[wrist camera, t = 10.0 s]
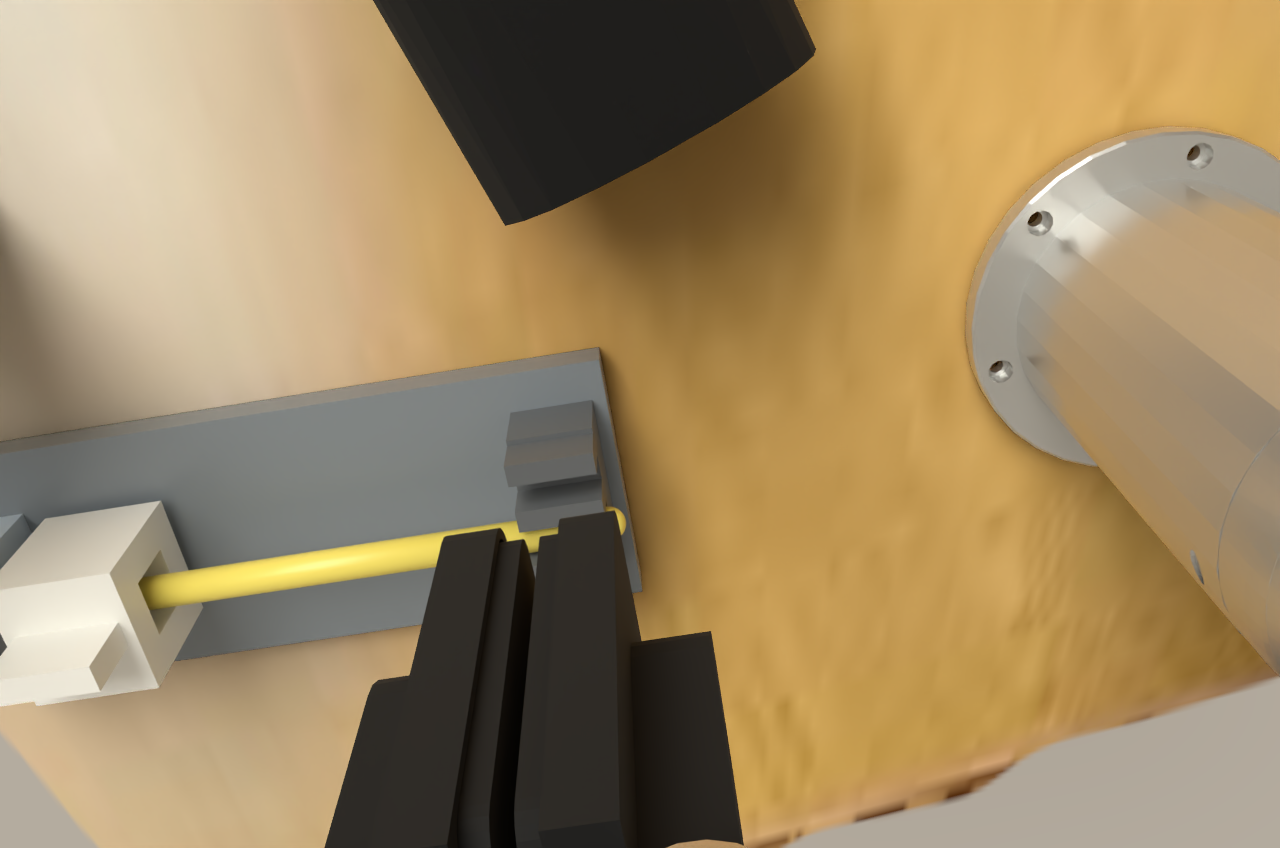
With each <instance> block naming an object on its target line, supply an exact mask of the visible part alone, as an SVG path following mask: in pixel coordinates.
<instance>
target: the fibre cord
mask: <svg viewBox="0 0 1280 848" xmlns="http://www.w3.org/2000/svg"><path fill="white" fill-rule="evenodd" d="M613 510H615V512H616V515H617V518H618V523H619V527H620V532H621V535H622V534H623V533H624V531H625V528H626V519H625V516H624V514H623V513H622V512H621V511H620V510H619V509H617V508H615V507H606V512H607V511H613ZM495 528H501V529H502V530H503V532H504V534H505V536H506V539H507V541H514V540H520V539H524V540H525V541H526V544H527V546H528V550H529V553H533V552H538V547H539V539H540V537H541V536H547V535H553V534H558V527H555V528H548V529H542V530H535V531H528V532H522V533H519V529H518V525H517V521H509V522H502V523H496V524H489V525H483V526H476V527H470V528H463V529H457V530H450V531H443V532H437V533H430V534H424V535H417V536H411V537H404V538H397V539H391V540H384V541H378V542H371V543H365V544H358V545H351V546H345V547H338V548H332V549H325V550H319V551H312V552H306V553H299V554H292V555H286V556H279V557H273V558H266V559H260V560H253V561H246V562H240V563H233V564H227V565H220V566H214V567H207V568H200V569H194V570H187V571H181V572H174V573H168V574H161V575H155V576H148V577H142V578H141V580H140V581H139V583H138V585H139V587H140V590H141V592H142V595H143V597H144V599H145V602H146V604H147V606H148V609H149V610H155V609H162V608H168V607H175V606H182V605H188V604H195V603H202V602H208V601H215V600H221V599H228V598H235V597H241V596H248V595H255V594H261V593H268V592H274V591H281V590H288V589H294V588H301V587H307V586H314V585H321V584H327V583H334V582H341V581H347V580H354V579H360V578H367V577H374V576H380V575H387V574H394V573H400V572H407V571H413V570H420V569H427V568H433V567H436V564H437V560H438V556H439V552H440V548H441V544H442V541H443V538H444V537H445V536H449V535H456V534H462V533H469V532H475V531H482V530H489V529H495Z"/></svg>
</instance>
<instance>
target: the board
mask: <svg viewBox="0 0 1280 848" xmlns="http://www.w3.org/2000/svg"><path fill="white" fill-rule="evenodd" d="M155 501H161V502H162V505H163V507H164V510H165V512H166V515H167V517H168V520H169V522H170V525H171V527H172V530H173V532H174V535H175V538H176V540H177V543H178V545H179V548H180V550H181V553H182V555H183V558H184V560H185V563H186V565H187V568H188V570H194V569H200V568H207V567H214V566H220V565H227V564H233V563H240V562H246V561H253V560H260V559H266V558H273V557H279V556H286V555H292V554H299V553H306V552H312V551H319V550H325V549H332V548H338V547H345V546H351V545H358V544H365V543H371V542H378V541H384V540H391V539H397V538H404V537H411V536H417V535H424V534H430V533H437V532H443V531H450V530H457V529H463V528H470V527H476V526H483V525H489V524H496V523H502V522H509V521H517V525H518V529H519V533H522V532H528V531H535V530H542V529H548V528H555V527H558V524H559V519H561V518H567V517H574V516H581V515H587V514H594V513H600V512H606V507H615V508H617V509H619V510H620V511H621V512H622V513H623V514H624V516H625V519H626V528H625V531H624V533H623V534H622V535H621V537H622V543H623V548H624V553H625V558H626V563H627V569H628V574H629V579H630V584H631V589H632V593H636V592H642V577H641V570H640V565H639V559H638V554H637V548H636V543H635V538H634V532H633V527H632V522H631V516H630V511H629V506H628V500H627V495H626V489H625V484H624V479H623V473H622V468H621V463H620V457H619V452H618V447H617V441H616V436H615V430H614V425H613V420H612V414H611V409H610V404H609V398H608V393H607V388H606V382H605V377H604V372H603V366H602V361H601V355H600V350H599V347H597V348H591V349H584V350H578V351H572V352H565V353H559V354H553V355H546V356H540V357H534V358H527V359H521V360H515V361H508V362H502V363H496V364H490V365H483V366H477V367H471V368H464V369H458V370H452V371H445V372H439V373H433V374H426V375H420V376H414V377H407V378H401V379H395V380H388V381H382V382H376V383H369V384H363V385H357V386H350V387H344V388H338V389H331V390H325V391H319V392H312V393H306V394H300V395H293V396H287V397H281V398H274V399H268V400H262V401H255V402H249V403H243V404H237V405H230V406H224V407H218V408H211V409H205V410H199V411H192V412H186V413H180V414H173V415H167V416H161V417H154V418H148V419H142V420H135V421H129V422H123V423H116V424H110V425H104V426H97V427H91V428H85V429H78V430H72V431H66V432H59V433H53V434H47V435H40V436H34V437H28V438H21V439H15V440H9V441H2V442H0V517H5V516H11V515H18V514H23V515H24V518H25V520H26V522H27V524H28V526H29V528H30V531H31V533H33V532H34V531H35V530H36V528H37V527H38V526H39V525H40V524H41V523H42V521H43V520H44V519H46V518H52V517H59V516H65V515H72V514H78V513H84V512H91V511H97V510H104V509H110V508H117V507H123V506H130V505H136V504H143V503H149V502H155ZM529 554H530V558H531V562H532V566H533V571H534V575H535V579H536V568H537V557H538V552H533V553H529ZM435 568H436V567H433V568H427V569H420V570H413V571H407V572H400V573H394V574H387V575H380V576H374V577H367V578H360V579H354V580H347V581H341V582H334V583H327V584H321V585H314V586H307V587H301V588H294V589H288V590H281V591H274V592H268V593H261V594H255V595H248V596H241V597H235V598H228V599H221V600H215V601H208V602H202V606H203V609H202V611H201V612H200V614H199V616H198V618H197V620H196V622H195V623H194V625H193V627H192V629H191V631H190V633H189V634H188V636H187V638H186V640H185V642H184V644H183V645H182V647H181V649H180V651H179V653H178V655H177V656H176V658H175V660H174V661H180V660H187V659H193V658H200V657H207V656H213V655H220V654H227V653H234V652H240V651H247V650H254V649H260V648H267V647H274V646H280V645H287V644H294V643H301V642H307V641H314V640H321V639H327V638H334V637H341V636H348V635H354V634H361V633H368V632H374V631H381V630H388V629H395V628H401V627H408V626H415V625H421V624H422V622H423V618H424V614H425V610H426V606H427V602H428V598H429V593H430V589H431V585H432V581H433V577H434V573H435Z"/></svg>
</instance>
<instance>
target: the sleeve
mask: <svg viewBox="0 0 1280 848" xmlns="http://www.w3.org/2000/svg"><path fill="white" fill-rule="evenodd" d="M187 570H188V568H187V565H186V563H185V560H184V558H183V555H182V553H181V550H180V548H179V545H178V543H177V540H176V538H175V535H174V532H173V530H172V527H171V525H170V522H169V520H168V517H167V515H166V512H165V510H164V507H163V505H162V502H161V501H155V502H149V503H143V504H136V505H130V506H123V507H117V508H110V509H104V510H97V511H91V512H84V513H78V514H72V515H65V516H59V517H52V518H46V519H44V520H43V521H42V523H41V524H40V525H39V526H38V527H37V528H36V530H35V531H34V532H33V533H32V534H31V535H30V536H29V538H28V539H27V540H26V541H25V542H24V543H23V544H22V546H21V547H20V548H19V549H18V550H17V551H16V552H15V554H14V555H13V556H12V557H11V558H10V559H9V560H8V562H7V563H6V564H5V565H4V566H3V567H2V569H1V570H0V634H1V636H2V638H3V640H4V642H5V644H6V646H7V648H6V649H5V651H4V652H3V653H2V655H1V656H0V706H7V705H14V704H20V703H27V702H35V704H36V706H41V705H48V704H54V703H61V702H68V701H75V700H81V699H88V698H95V697H102V696H108V695H115V694H122V693H129V692H135V691H142V690H149V689H156V688H159V687H160V686H161V684H162V682H163V680H164V678H165V676H166V675H167V673H168V671H169V669H170V667H171V665H172V664H173V662H174V660H175V658H176V656H177V655H178V653H179V651H180V649H181V647H182V645H183V644H184V642H185V640H186V638H187V636H188V634H189V633H190V631H191V629H192V627H193V625H194V623H195V622H196V620H197V618H198V616H199V614H200V612H201V611H202V609H203V606H202V603H195V604H188V605H182V606H175V607H168V608H162V609H155V610H149V609H148V606H147V604H146V602H145V599H144V597H143V595H142V592H141V590H140V587H139V585H138V583H139V581H140V580H141V578H142V577H148V576H155V575H161V574H168V573H174V572H181V571H187Z"/></svg>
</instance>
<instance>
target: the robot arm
mask: <svg viewBox="0 0 1280 848" xmlns="http://www.w3.org/2000/svg"><path fill="white" fill-rule="evenodd" d="M1192 147H1194V151H1193V153H1192V155H1190V156H1189V157H1187V155H1188V153H1189V151H1190V149H1191V148H1192ZM1035 212H1038V217H1037V218H1036V220H1035V221H1033V222H1032V223H1027V222H1028V220H1029V218H1030V216H1031V215H1033V214H1034V213H1035ZM965 336H966V342H967V348H968V354H969V360H970V365H971V367H972V370H973V372H974V375H975V377H976V380H977V382H978V385H979V387H980V390H981V391H982V393H983V394H984V395H985V397H986V398H987V400H988V401H989V403H990V404H991V406H992V407H993V409H994V411H995V412H996V413H997V414H998V415H999V416H1000V417H1001V419H1002V420H1003V421H1004V422H1005V423H1006V424H1007V425H1008V426H1009V428H1010V429H1011V430H1012V431H1013V432H1014V433H1016V434H1017V435H1018V436H1020V437H1021V438H1022V439H1024V440H1025V441H1027V442H1028V443H1029V444H1031V445H1032V446H1034V447H1035V448H1036V449H1039V450H1041V451H1043V452H1046V453H1048V454H1050V455H1052V456H1055V457H1057V458H1059V459H1061V460H1065V461H1069V462H1074V463H1078V464H1083V465H1087V466H1093V467H1099V468H1100V469H1101V470H1102V471H1103V472H1104V474H1105V475H1106V476H1107V477H1108V478H1109V479H1110V481H1111V482H1112V483H1113V484H1114V485H1115V486H1116V488H1117V489H1118V490H1119V491H1120V492H1121V494H1122V495H1123V496H1124V497H1125V498H1126V499H1127V501H1128V502H1129V503H1130V504H1131V505H1132V507H1133V508H1134V509H1135V510H1136V511H1137V512H1138V514H1139V515H1140V516H1141V517H1142V518H1143V519H1144V521H1145V522H1146V523H1147V524H1148V525H1149V527H1150V528H1151V529H1152V530H1153V531H1154V532H1155V534H1156V535H1157V536H1158V537H1159V538H1160V540H1161V541H1162V542H1163V543H1164V544H1165V545H1166V547H1167V548H1168V549H1169V550H1170V551H1171V552H1172V554H1173V555H1174V556H1175V557H1176V558H1177V560H1178V561H1179V562H1180V563H1181V564H1182V565H1183V567H1184V568H1185V569H1186V570H1187V571H1188V572H1189V574H1190V575H1191V576H1192V577H1193V578H1194V580H1195V581H1196V582H1197V583H1198V584H1199V585H1200V587H1201V588H1202V589H1203V590H1204V591H1205V593H1206V594H1207V595H1208V596H1209V597H1210V598H1211V600H1212V601H1213V602H1214V603H1215V604H1216V605H1217V607H1218V608H1219V609H1220V610H1221V611H1222V613H1223V614H1224V615H1225V616H1226V617H1227V618H1228V620H1229V621H1230V622H1231V623H1232V624H1233V625H1234V627H1235V628H1236V629H1237V630H1238V631H1239V633H1240V634H1242V635H1243V636H1244V637H1245V639H1246V640H1247V641H1248V642H1249V643H1250V644H1251V646H1252V647H1253V648H1254V649H1255V650H1256V651H1257V653H1258V654H1259V655H1260V656H1261V657H1262V658H1263V660H1264V661H1265V662H1266V663H1267V664H1268V665H1269V666H1270V667H1271V668H1272V669H1273V670H1274V671H1275V673H1276V674H1277V675H1278V676H1280V160H1278V159H1277V158H1275V157H1274V156H1273V155H1271V154H1270V153H1268V152H1267V151H1265V150H1264V149H1263V148H1260V147H1258V146H1256V145H1254V144H1251V143H1249V142H1247V141H1244V140H1242V139H1240V138H1238V137H1235V136H1232V135H1228V134H1224V133H1220V132H1217V131H1213V130H1209V129H1206V128H1196V127H1178V126H1165V127H1158V128H1151V129H1144V130H1136V131H1131V132H1128V133H1125V134H1122V135H1119V136H1116V137H1113V138H1110V139H1107V140H1104V141H1101V142H1098V143H1096V144H1094V145H1092V146H1090V147H1088V148H1087V149H1085V150H1083V151H1081V152H1079V153H1077V154H1075V155H1073V156H1071V157H1069V158H1068V159H1066V160H1064V161H1063V162H1061V163H1060V164H1059V165H1057V166H1056V167H1055V168H1053V169H1052V170H1051V171H1049V172H1048V173H1047V174H1046V175H1044V176H1043V177H1042V178H1040V179H1039V180H1038V181H1036V182H1035V183H1034V184H1033V185H1032V186H1031V187H1030V188H1029V189H1028V190H1027V191H1026V192H1025V193H1024V194H1023V195H1022V197H1021V198H1020V199H1019V200H1018V201H1017V202H1016V203H1015V204H1014V205H1013V206H1012V207H1011V208H1010V209H1009V210H1008V212H1007V213H1006V215H1005V216H1004V218H1003V219H1002V221H1001V222H1000V224H999V225H998V227H997V228H996V230H995V231H994V233H993V234H992V235H991V237H990V238H989V240H988V242H987V244H986V247H985V249H984V251H983V253H982V256H981V258H980V260H979V262H978V264H977V267H976V269H975V271H974V275H973V279H972V283H971V287H970V291H969V295H968V299H967V305H966V327H965ZM997 361H999V363H998V365H997V366H995V367H992V368H990V367H991V365H992V364H994V363H995V362H997ZM325 848H748V847H746V846H744V843H743V837H742V830H741V823H740V816H739V810H738V803H737V796H736V789H735V783H734V776H733V769H732V763H731V756H730V749H729V743H728V736H727V730H726V723H725V717H724V711H723V704H722V698H721V691H720V685H719V679H718V672H717V666H716V660H715V654H714V647H713V641H712V635H711V631H709V632H702V633H695V634H688V635H682V636H675V637H668V638H661V639H654V640H648V641H641V636H640V631H639V626H638V621H637V615H636V610H635V605H634V600H633V595H632V589H631V584H630V579H629V574H628V569H627V563H626V558H625V553H624V548H623V543H622V537H621V532H620V527H619V523H618V518H617V515H616V512H615V510H613V511H607V512H600V513H594V514H587V515H581V516H574V517H567V518H561V519H559V524H558V534H553V535H547V536H541V537H540V539H539V547H538V557H537V568H536V579H535V575H534V571H533V566H532V562H531V558H530V554H529V550H528V546H527V544H526V541H525V540H524V539H520V540H514V541H507V539H506V536H505V534H504V532H503V530H502V529H501V528H495V529H489V530H482V531H475V532H469V533H462V534H456V535H449V536H445V537H444V538H443V541H442V544H441V548H440V552H439V556H438V560H437V564H436V568H435V573H434V577H433V581H432V585H431V589H430V593H429V598H428V602H427V606H426V610H425V614H424V618H423V622H422V627H421V631H420V635H419V639H418V643H417V647H416V652H415V656H414V660H413V664H412V668H411V672H410V676H403V677H396V678H390V679H383V680H378V681H377V682H376V683H374V684H373V685H372V688H371V690H370V692H369V695H368V698H367V701H366V705H365V708H364V712H363V715H362V719H361V722H360V726H359V729H358V733H357V736H356V740H355V743H354V747H353V750H352V754H351V757H350V761H349V764H348V768H347V771H346V775H345V778H344V782H343V785H342V789H341V792H340V796H339V799H338V803H337V806H336V809H335V813H334V816H333V820H332V823H331V827H330V830H329V834H328V837H327V841H326V844H325Z"/></svg>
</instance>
